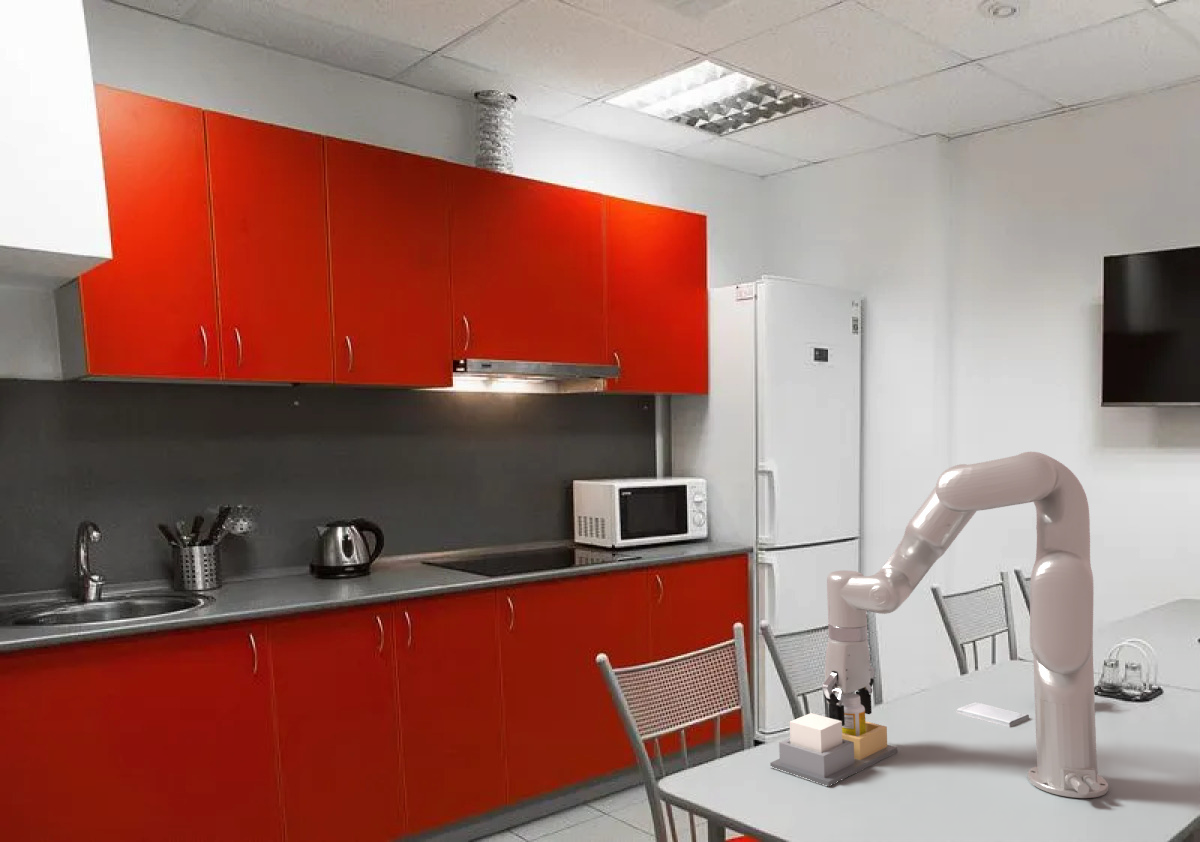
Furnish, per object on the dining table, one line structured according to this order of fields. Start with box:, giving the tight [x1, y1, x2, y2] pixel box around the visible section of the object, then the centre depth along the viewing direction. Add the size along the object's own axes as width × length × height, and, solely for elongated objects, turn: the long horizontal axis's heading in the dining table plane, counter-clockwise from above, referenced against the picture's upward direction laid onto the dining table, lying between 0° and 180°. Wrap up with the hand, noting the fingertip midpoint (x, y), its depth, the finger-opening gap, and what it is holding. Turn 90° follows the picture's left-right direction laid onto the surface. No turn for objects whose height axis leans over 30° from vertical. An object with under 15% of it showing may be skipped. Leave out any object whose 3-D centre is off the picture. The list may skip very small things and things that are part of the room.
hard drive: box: [956, 701, 1030, 728], centre depth 192 cm, size 2×8×12 cm
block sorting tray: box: [770, 712, 898, 787], centre depth 169 cm, size 24×13×9 cm, turn 132°
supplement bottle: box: [842, 692, 866, 737], centre depth 173 cm, size 6×6×10 cm
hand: (850, 718), depth 173 cm, fingers open, 9 cm apart
